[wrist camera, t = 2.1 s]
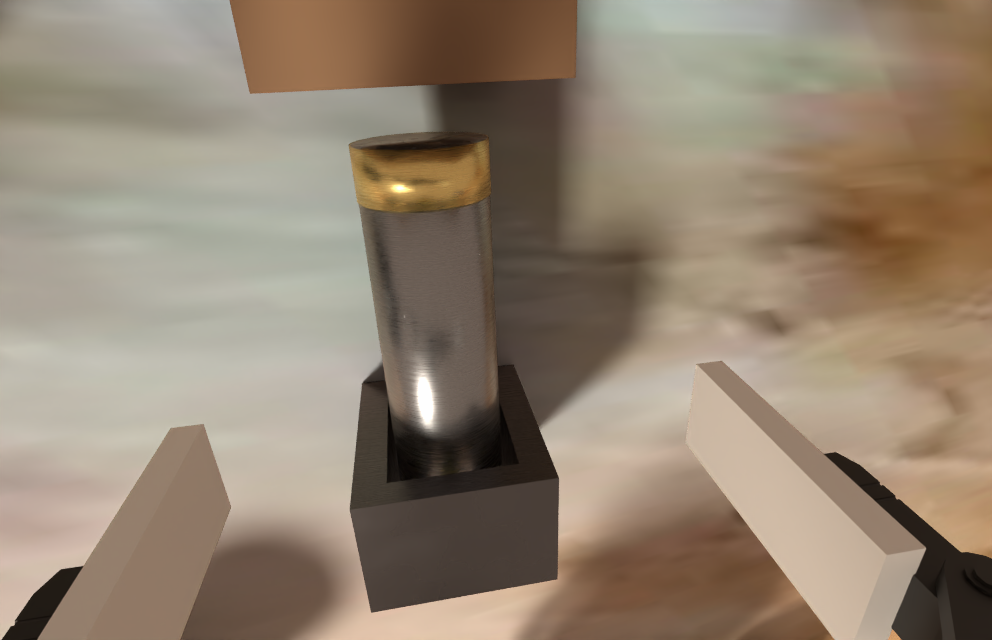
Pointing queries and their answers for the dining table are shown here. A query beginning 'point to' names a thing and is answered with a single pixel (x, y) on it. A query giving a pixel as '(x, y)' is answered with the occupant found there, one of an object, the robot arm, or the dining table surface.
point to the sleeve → (453, 511)
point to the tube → (433, 295)
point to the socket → (402, 42)
